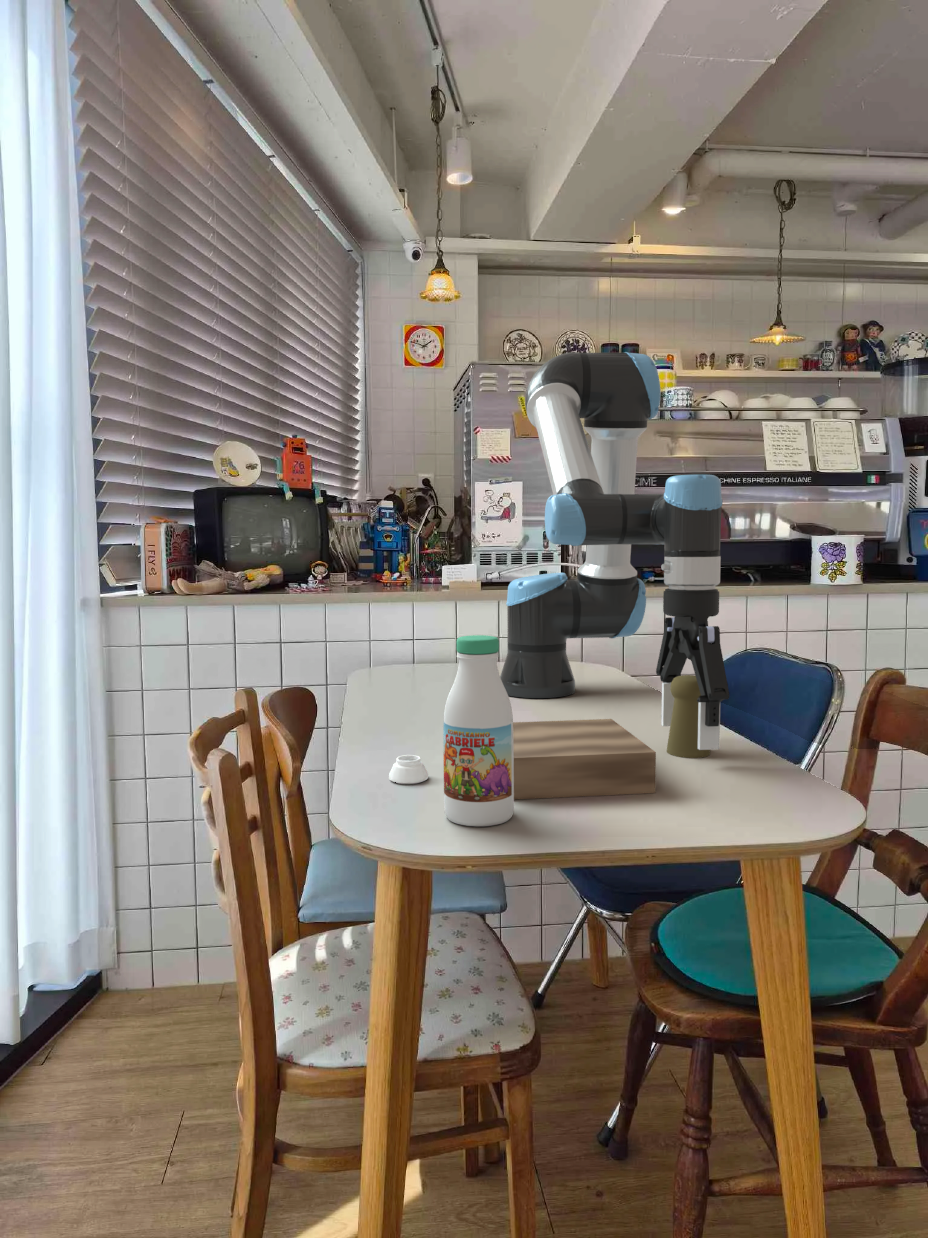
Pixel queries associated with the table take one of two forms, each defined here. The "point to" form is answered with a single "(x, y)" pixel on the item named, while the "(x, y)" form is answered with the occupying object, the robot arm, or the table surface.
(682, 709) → the olive pepper mill
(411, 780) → the white jar
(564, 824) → the table surface
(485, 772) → the milk bottle
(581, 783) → the walnut riser
